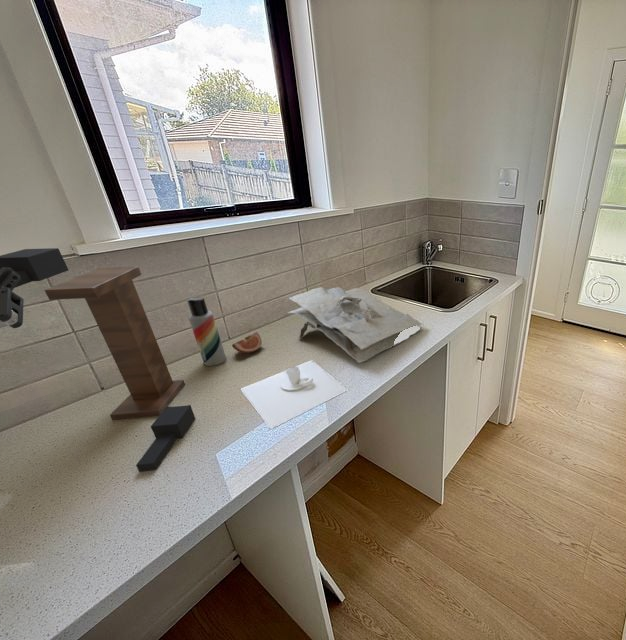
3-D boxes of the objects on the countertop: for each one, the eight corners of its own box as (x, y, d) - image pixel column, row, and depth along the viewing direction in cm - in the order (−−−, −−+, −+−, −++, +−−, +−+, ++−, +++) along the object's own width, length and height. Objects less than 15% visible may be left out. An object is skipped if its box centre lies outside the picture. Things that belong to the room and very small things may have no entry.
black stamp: (-10, 299, 47) (-27, 272, 45) (-53, 301, 46) (-71, 273, 45) (69, 270, 60) (58, 248, 58) (36, 271, 59) (25, 248, 57)
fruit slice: (243, 360, 99) (239, 346, 97) (229, 355, 101) (224, 340, 99) (267, 347, 105) (264, 333, 103) (253, 342, 108) (249, 329, 106)
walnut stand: (157, 418, 77) (98, 287, 63) (109, 423, 75) (37, 290, 61) (187, 382, 89) (143, 266, 75) (146, 385, 88) (93, 267, 74)
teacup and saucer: (318, 383, 89) (316, 371, 87) (289, 397, 84) (286, 383, 82) (303, 370, 94) (300, 357, 93) (275, 382, 89) (272, 369, 88)
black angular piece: (162, 469, 64) (154, 454, 63) (133, 472, 64) (125, 457, 62) (195, 418, 77) (190, 405, 75) (171, 420, 76) (166, 407, 74)
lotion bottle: (199, 364, 97) (177, 301, 88) (214, 354, 102) (195, 293, 93) (215, 367, 95) (194, 303, 87) (230, 357, 100) (212, 295, 92)
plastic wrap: (430, 310, 114) (363, 337, 89) (420, 349, 121) (356, 384, 96) (358, 273, 129) (285, 288, 105) (354, 310, 137) (284, 331, 112)
